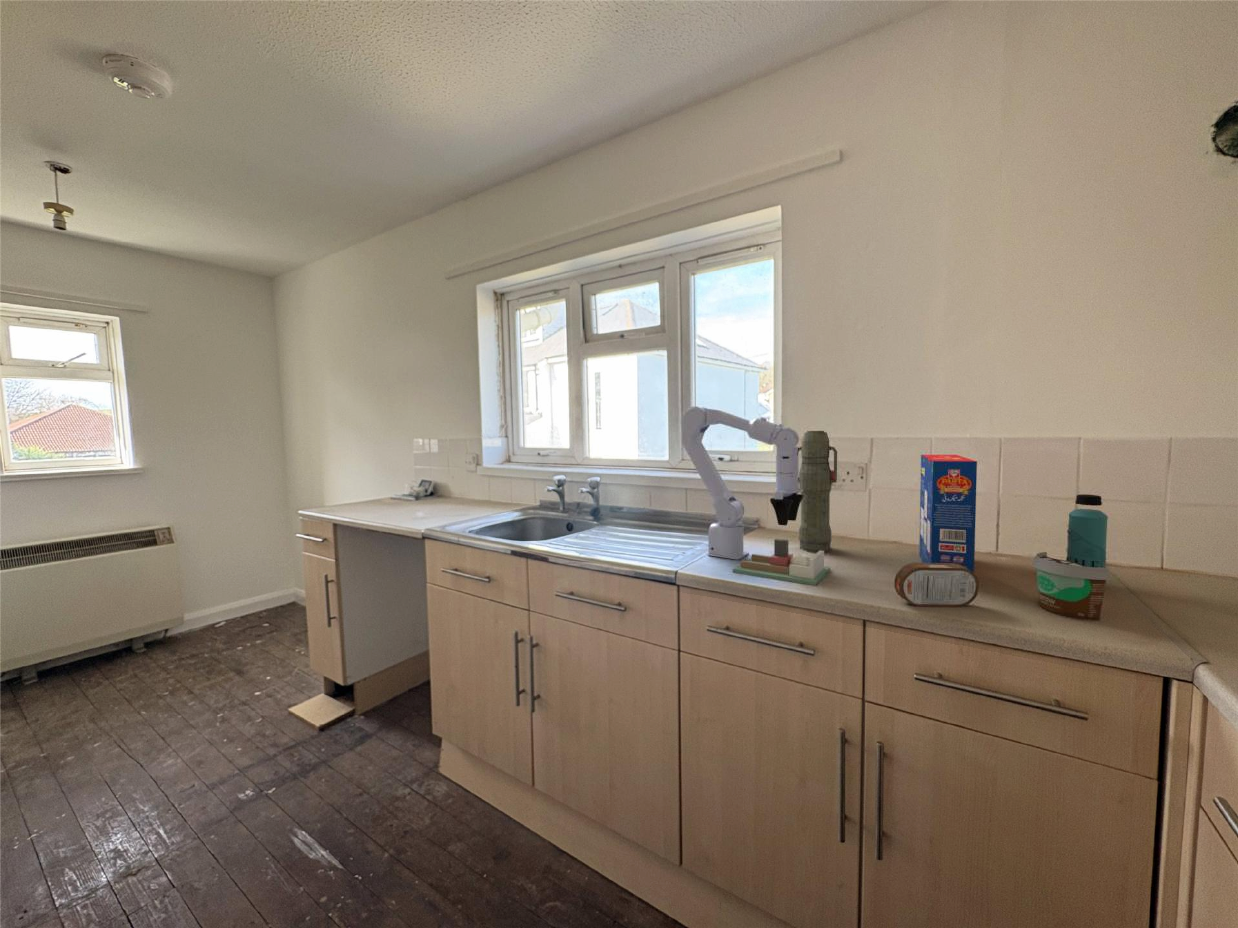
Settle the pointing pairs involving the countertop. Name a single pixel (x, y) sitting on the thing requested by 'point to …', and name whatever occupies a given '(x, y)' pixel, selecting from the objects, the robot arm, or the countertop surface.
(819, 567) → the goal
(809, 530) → the thermos
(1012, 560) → the countertop surface
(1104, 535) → the beverage bottle
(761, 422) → the robot arm
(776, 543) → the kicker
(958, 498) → the pasta box
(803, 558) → the ball
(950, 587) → the tin
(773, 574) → the pitch
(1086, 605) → the food container
